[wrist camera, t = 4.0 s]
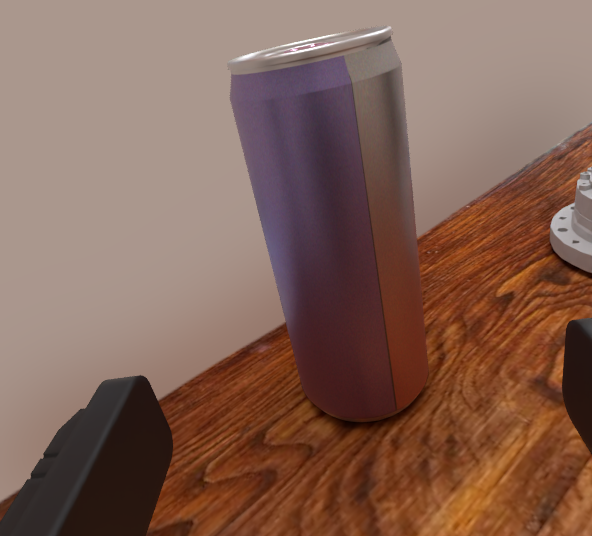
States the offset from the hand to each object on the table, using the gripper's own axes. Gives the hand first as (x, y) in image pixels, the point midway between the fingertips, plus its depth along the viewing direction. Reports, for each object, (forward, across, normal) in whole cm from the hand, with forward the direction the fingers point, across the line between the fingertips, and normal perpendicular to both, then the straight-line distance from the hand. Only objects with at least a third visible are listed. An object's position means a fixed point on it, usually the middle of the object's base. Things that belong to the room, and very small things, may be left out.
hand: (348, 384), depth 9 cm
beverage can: (+11, 0, +10) cm, 14 cm away
